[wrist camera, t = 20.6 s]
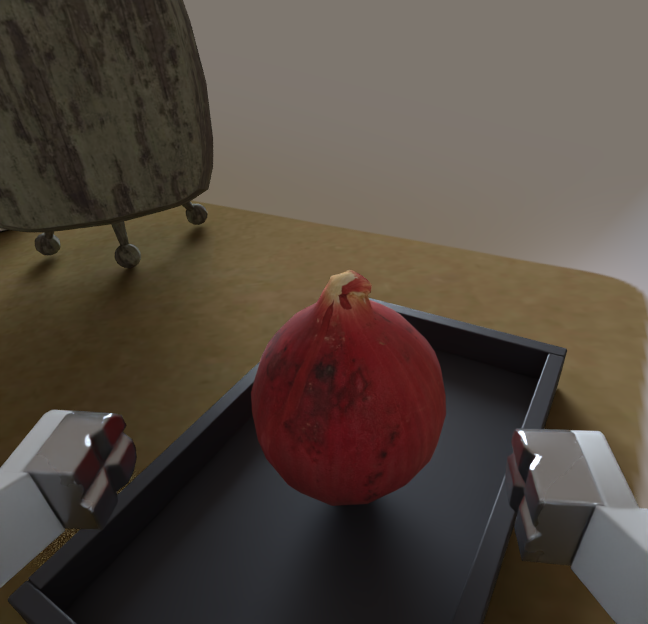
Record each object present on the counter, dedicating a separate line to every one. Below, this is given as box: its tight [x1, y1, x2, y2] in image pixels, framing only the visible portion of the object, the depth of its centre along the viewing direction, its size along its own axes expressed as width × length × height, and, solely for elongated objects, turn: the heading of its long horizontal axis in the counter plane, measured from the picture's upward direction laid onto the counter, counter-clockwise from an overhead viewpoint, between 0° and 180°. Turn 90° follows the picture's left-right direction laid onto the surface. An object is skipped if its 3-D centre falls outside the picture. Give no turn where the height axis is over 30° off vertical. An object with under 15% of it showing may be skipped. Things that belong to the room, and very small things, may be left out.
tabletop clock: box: [0, 0, 213, 268], centre depth 27 cm, size 14×9×25 cm, turn 111°
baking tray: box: [8, 298, 567, 624], centre depth 17 cm, size 17×11×2 cm, turn 148°
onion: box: [251, 270, 446, 506], centre depth 14 cm, size 6×6×8 cm
